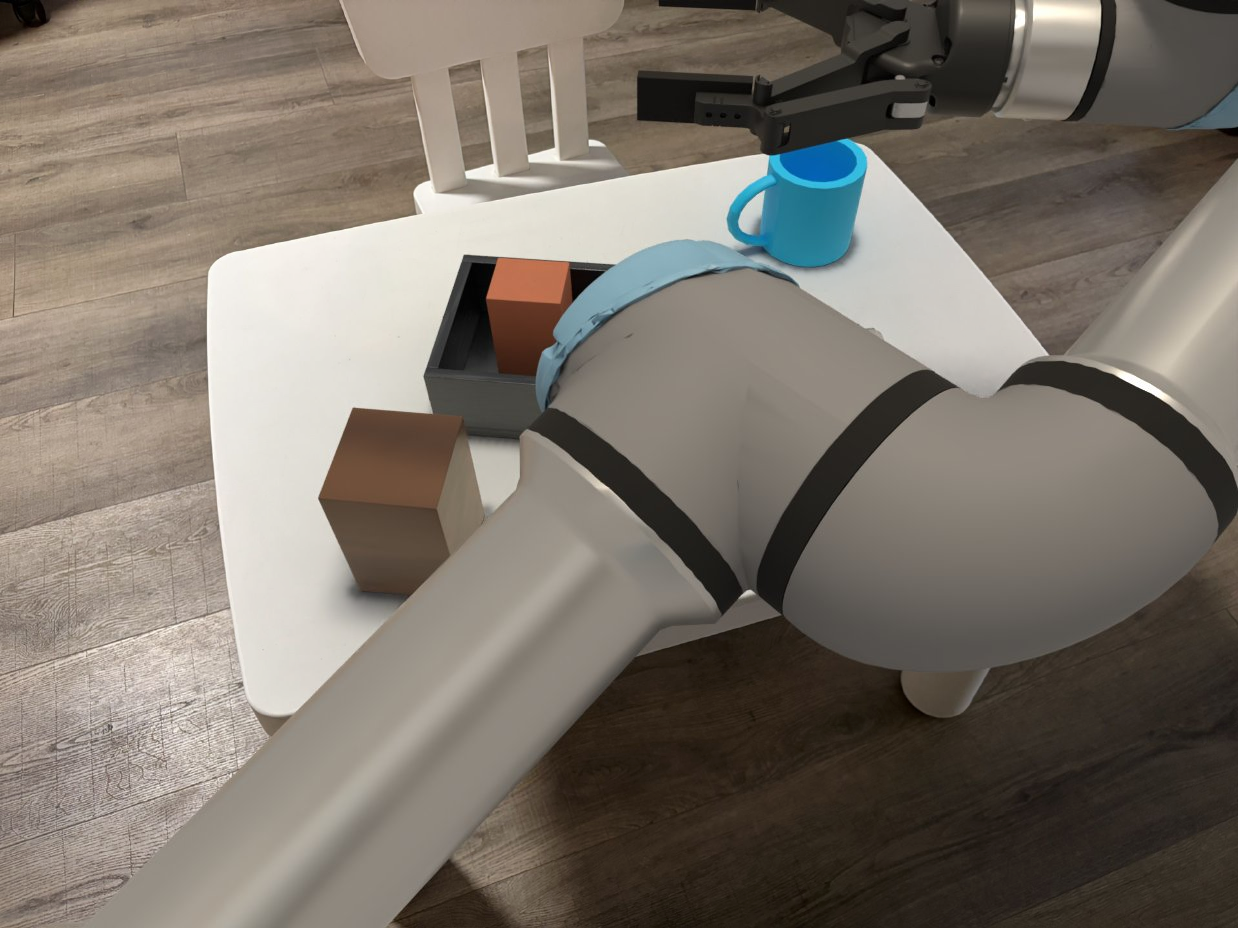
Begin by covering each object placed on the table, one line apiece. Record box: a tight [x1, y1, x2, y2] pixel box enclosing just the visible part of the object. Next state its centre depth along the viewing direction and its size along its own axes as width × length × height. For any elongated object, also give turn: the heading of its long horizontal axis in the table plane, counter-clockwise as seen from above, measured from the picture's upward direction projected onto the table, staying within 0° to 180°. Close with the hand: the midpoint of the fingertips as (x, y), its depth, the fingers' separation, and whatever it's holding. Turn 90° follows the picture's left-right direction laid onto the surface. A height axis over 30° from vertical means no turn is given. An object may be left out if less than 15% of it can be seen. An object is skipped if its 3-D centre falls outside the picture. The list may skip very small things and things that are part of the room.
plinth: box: [317, 407, 485, 596], centre depth 69 cm, size 8×8×12 cm
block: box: [486, 258, 572, 376], centre depth 80 cm, size 5×6×10 cm
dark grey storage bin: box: [423, 254, 617, 440], centre depth 82 cm, size 15×15×7 cm
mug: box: [726, 138, 868, 268], centre depth 92 cm, size 14×9×9 cm
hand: (648, 35), depth 59 cm, fingers open, 13 cm apart
